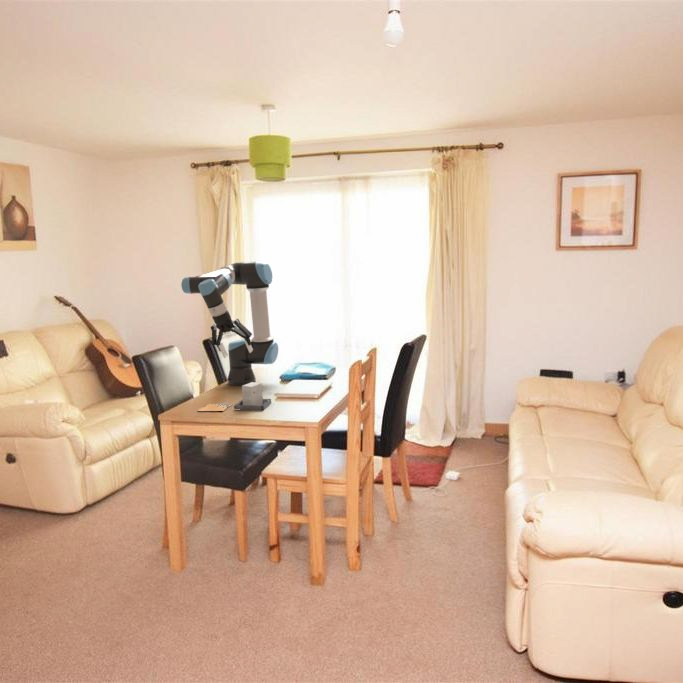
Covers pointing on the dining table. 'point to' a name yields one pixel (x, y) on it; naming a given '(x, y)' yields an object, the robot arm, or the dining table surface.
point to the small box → (252, 394)
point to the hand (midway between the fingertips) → (238, 354)
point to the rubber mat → (222, 404)
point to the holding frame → (253, 407)
